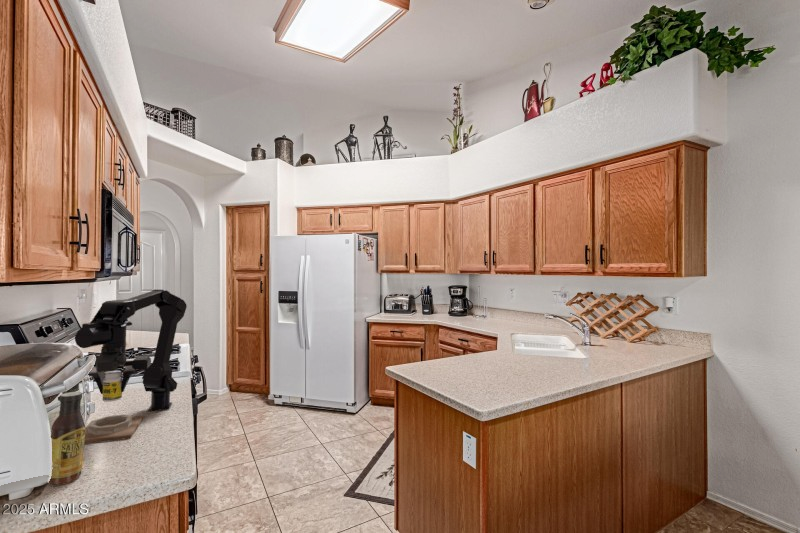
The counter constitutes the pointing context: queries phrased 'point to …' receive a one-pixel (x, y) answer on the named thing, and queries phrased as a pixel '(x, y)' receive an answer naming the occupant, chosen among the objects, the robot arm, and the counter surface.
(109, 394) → the supplement bottle
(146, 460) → the counter surface
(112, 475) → the counter surface
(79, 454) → the sauce bottle
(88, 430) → the brown board with ring
